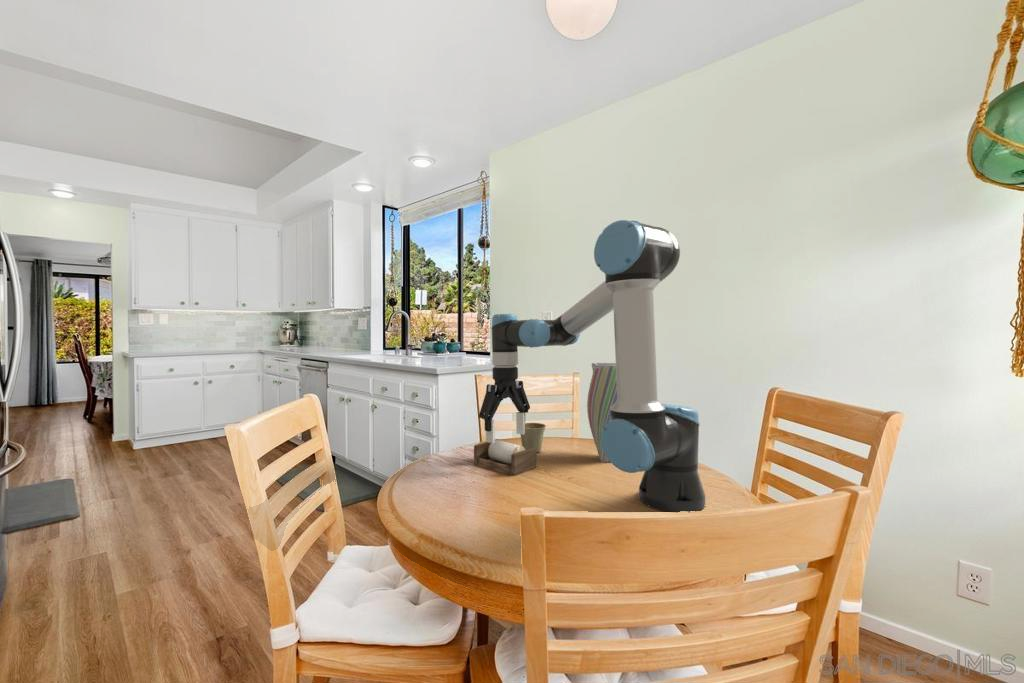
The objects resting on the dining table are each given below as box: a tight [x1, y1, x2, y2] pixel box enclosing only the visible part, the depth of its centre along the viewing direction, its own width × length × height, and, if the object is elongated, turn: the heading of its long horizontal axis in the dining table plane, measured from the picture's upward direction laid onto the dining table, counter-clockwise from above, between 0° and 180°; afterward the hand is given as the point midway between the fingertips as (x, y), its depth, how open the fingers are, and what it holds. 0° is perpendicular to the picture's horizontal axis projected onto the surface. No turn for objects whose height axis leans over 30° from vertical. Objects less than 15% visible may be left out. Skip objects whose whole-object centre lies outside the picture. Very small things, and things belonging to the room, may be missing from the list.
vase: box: [586, 362, 617, 463], centre depth 144 cm, size 14×14×30 cm
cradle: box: [473, 438, 538, 477], centre depth 138 cm, size 16×10×6 cm, turn 49°
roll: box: [488, 439, 525, 465], centre depth 138 cm, size 10×6×6 cm, turn 48°
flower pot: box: [519, 422, 547, 453], centre depth 154 cm, size 9×9×9 cm
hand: (506, 438), depth 137 cm, fingers open, 13 cm apart
